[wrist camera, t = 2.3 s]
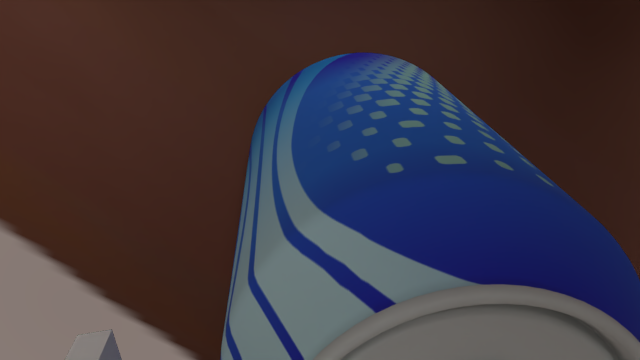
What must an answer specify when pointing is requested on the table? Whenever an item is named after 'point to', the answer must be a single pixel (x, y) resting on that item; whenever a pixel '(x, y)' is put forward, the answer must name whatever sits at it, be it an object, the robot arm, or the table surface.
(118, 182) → the table surface
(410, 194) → the beer can
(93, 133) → the table surface
